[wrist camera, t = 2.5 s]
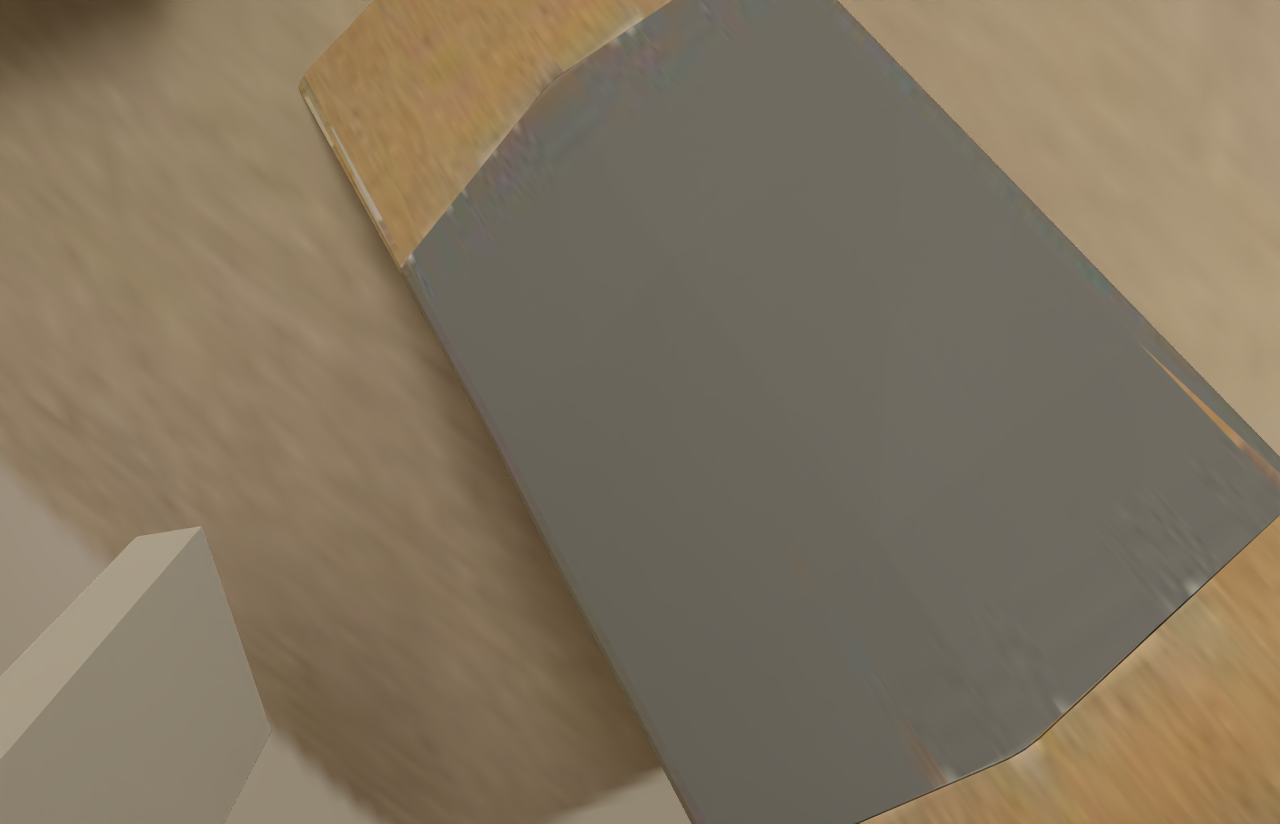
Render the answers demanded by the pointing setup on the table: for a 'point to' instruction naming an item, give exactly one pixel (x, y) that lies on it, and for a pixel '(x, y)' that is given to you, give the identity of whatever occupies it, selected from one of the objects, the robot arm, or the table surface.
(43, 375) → the table surface
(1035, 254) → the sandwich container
